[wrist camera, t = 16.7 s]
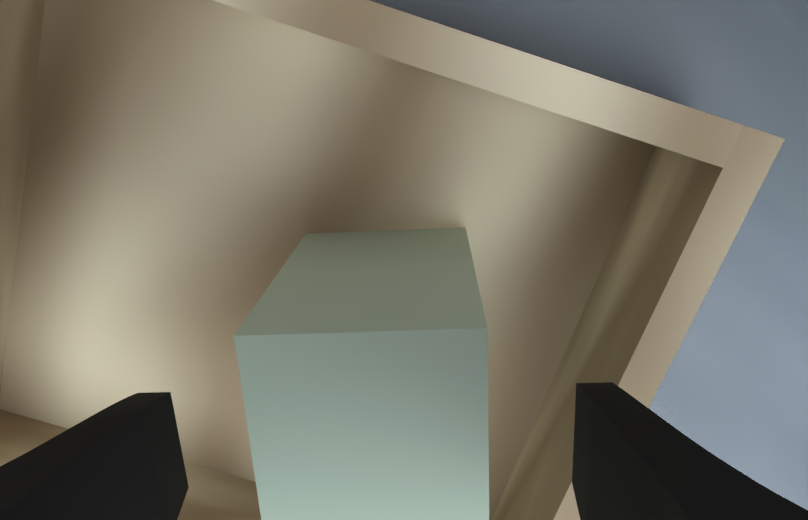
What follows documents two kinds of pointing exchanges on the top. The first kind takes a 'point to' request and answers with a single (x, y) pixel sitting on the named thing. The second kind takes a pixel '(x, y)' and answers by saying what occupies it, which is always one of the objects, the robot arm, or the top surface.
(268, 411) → the sage block
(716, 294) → the top surface
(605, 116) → the storage box
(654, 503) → the robot arm
